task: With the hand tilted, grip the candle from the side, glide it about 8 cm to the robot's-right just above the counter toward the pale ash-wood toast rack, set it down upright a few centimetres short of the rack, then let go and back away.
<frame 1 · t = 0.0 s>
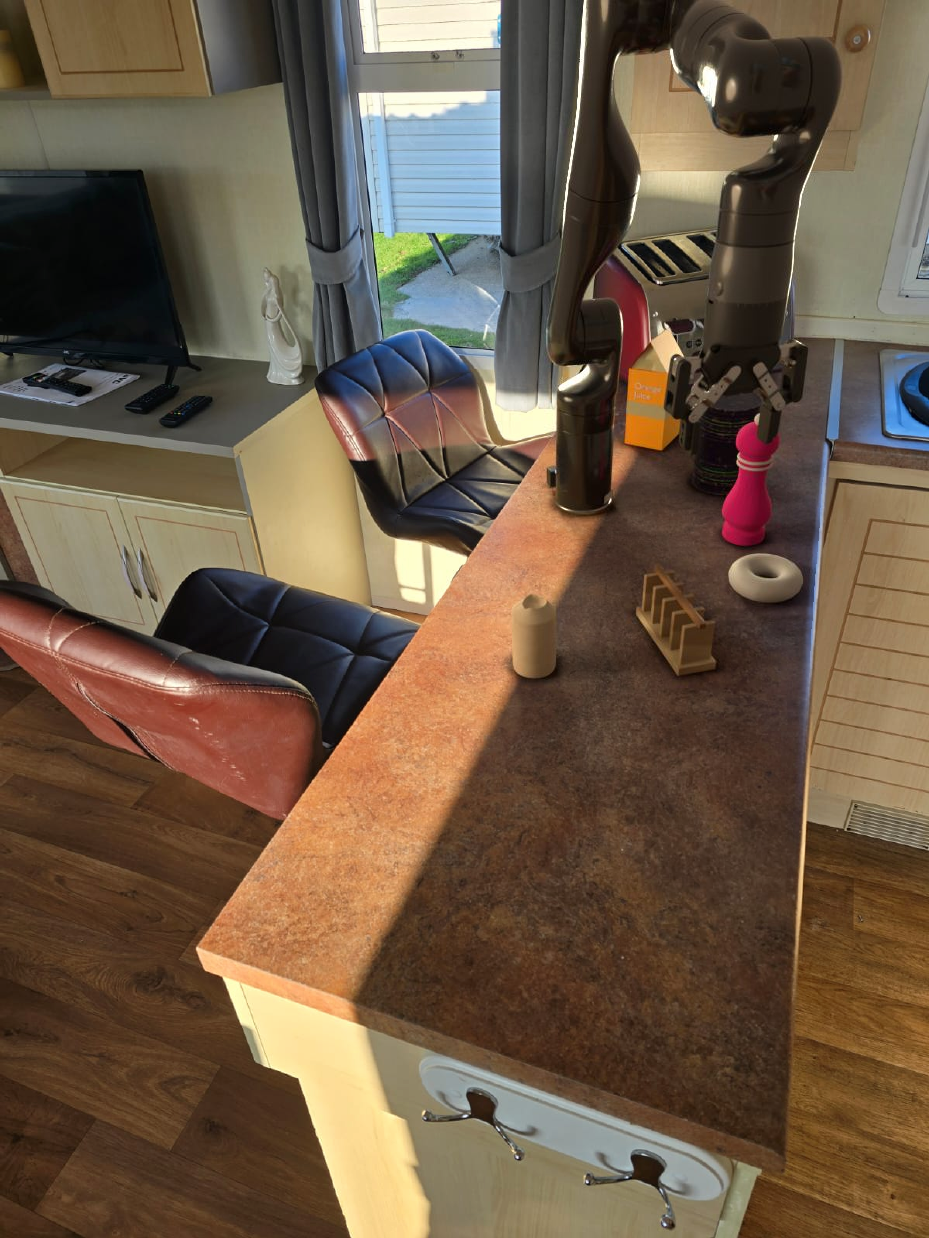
hand: (726, 446, 91), 29 cm above the breakfast bar, tool pointing down, fingers open, 8 cm apart
orange juice: (651, 439, 164), on the breakfast bar
storage jar: (720, 483, 148), on the breakfast bar
toast rack: (673, 640, 112), on the breakfast bar
candle: (534, 666, 109), on the breakfast bar
pepper mill: (742, 537, 133), on the breakfast bar
donut: (763, 588, 121), on the breakfast bar
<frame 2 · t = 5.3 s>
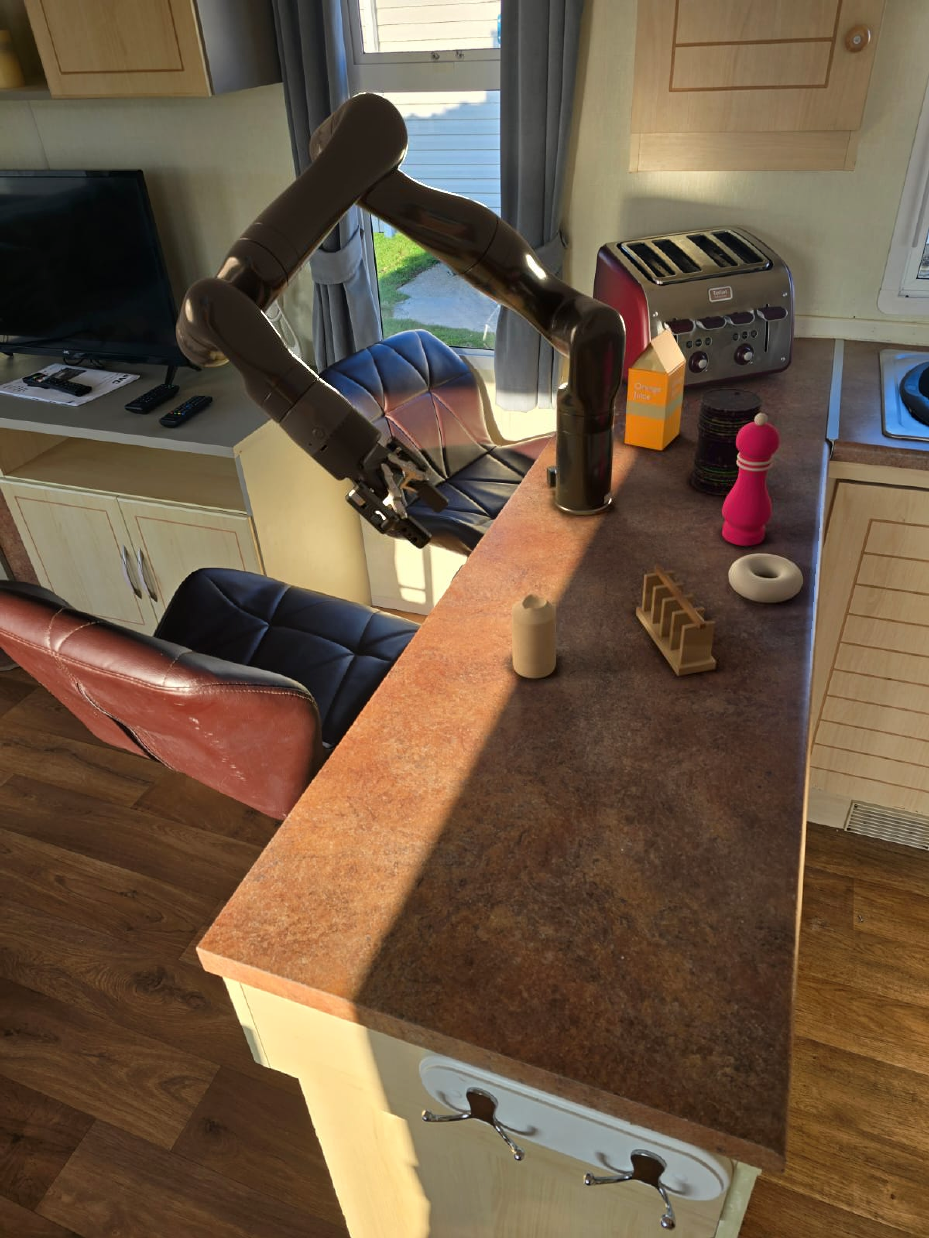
hand: (435, 525, 100), 20 cm above the breakfast bar, tool tilted 45°, fingers open, 8 cm apart
nothing on the breakfast bar moved.
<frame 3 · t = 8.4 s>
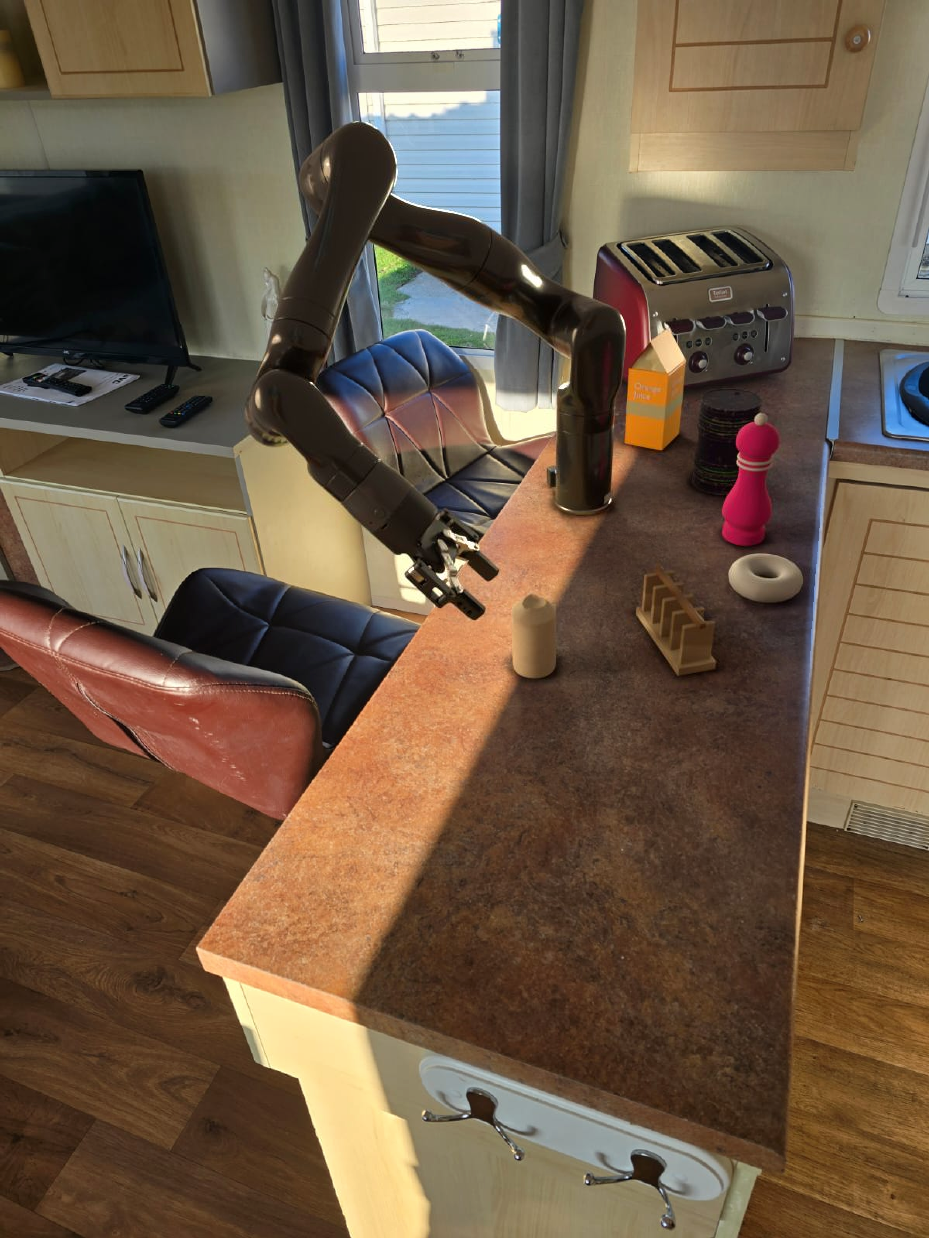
hand: (487, 595, 104), 10 cm above the breakfast bar, tool tilted 45°, fingers open, 8 cm apart
nothing on the breakfast bar moved.
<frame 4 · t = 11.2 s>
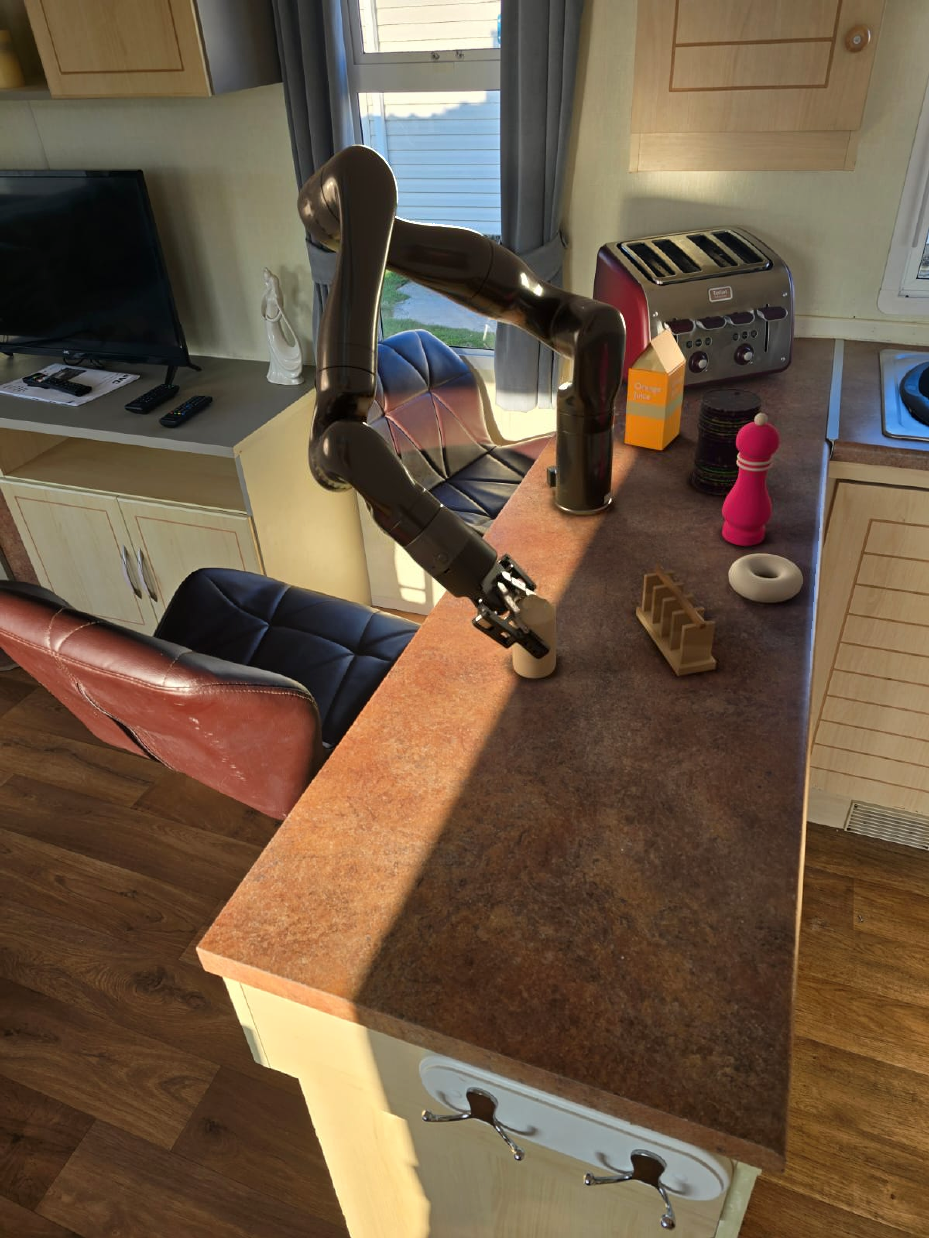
hand: (548, 639, 106), 4 cm above the breakfast bar, tool tilted 45°, fingers closed on candle, 5 cm apart
candle: (534, 666, 109), on the breakfast bar, touching gripper
everything else where it was.
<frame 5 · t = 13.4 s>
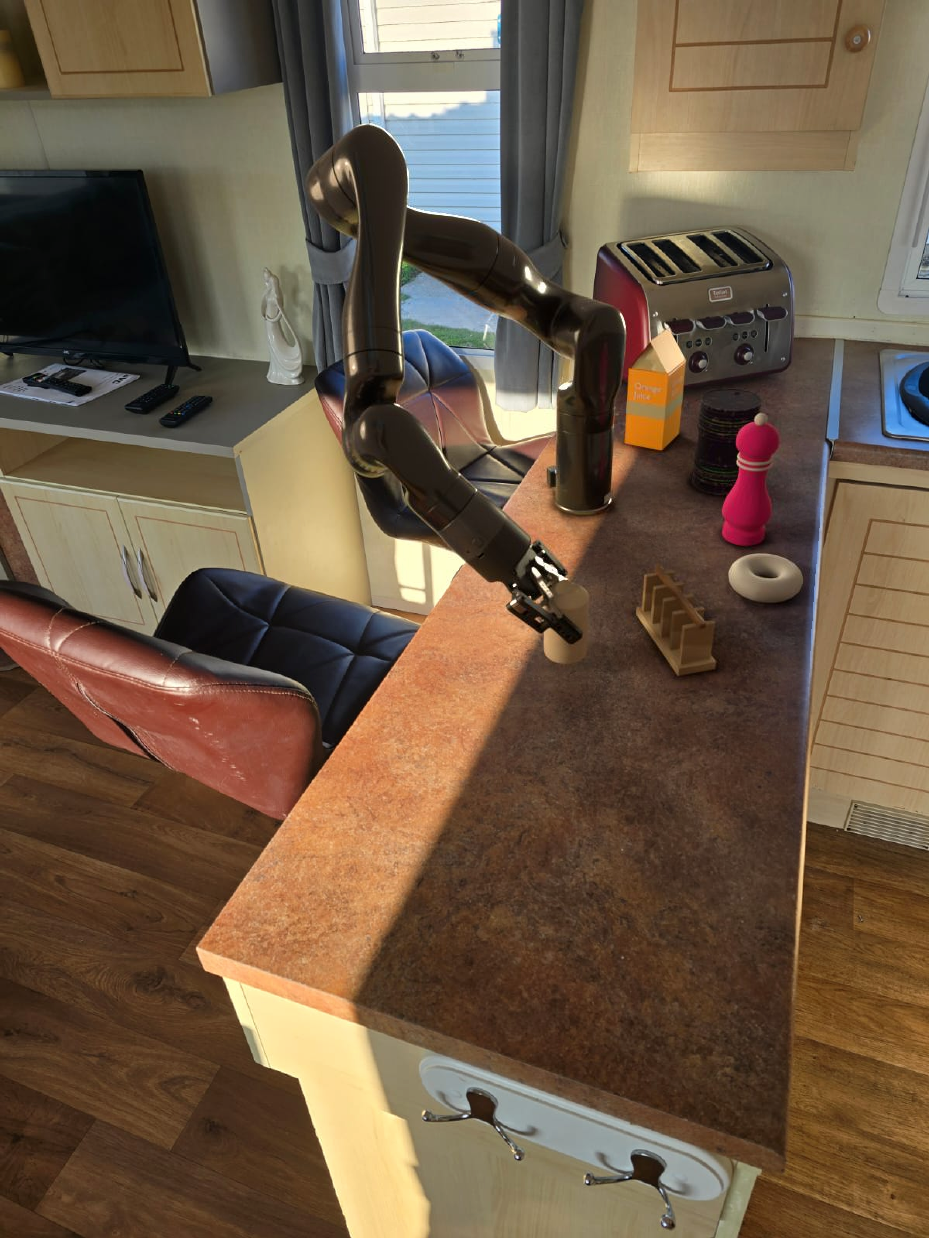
hand: (580, 624, 106), 6 cm above the breakfast bar, tool tilted 45°, fingers closed on candle, 5 cm apart
candle: (565, 652, 109), point 1 cm above the breakfast bar, touching gripper
everything else where it was.
when the fingers open (4 cm above the breakfast bar, at t = 15.5 s): candle stays where it is, on the breakfast bar.
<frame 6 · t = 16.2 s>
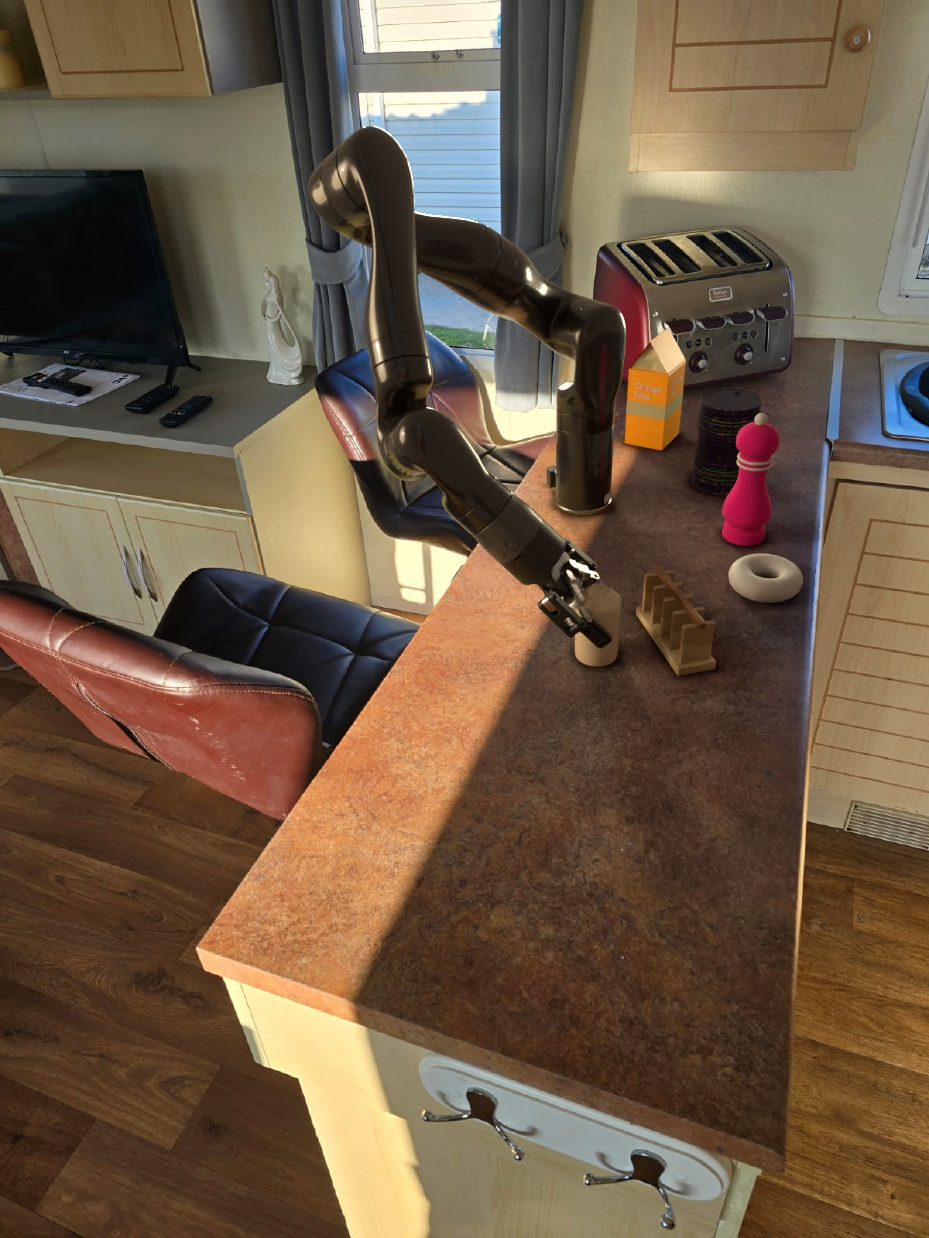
hand: (609, 623, 107), 5 cm above the breakfast bar, tool tilted 45°, fingers open, 8 cm apart
candle: (596, 655, 110), on the breakfast bar
everything else where it was.
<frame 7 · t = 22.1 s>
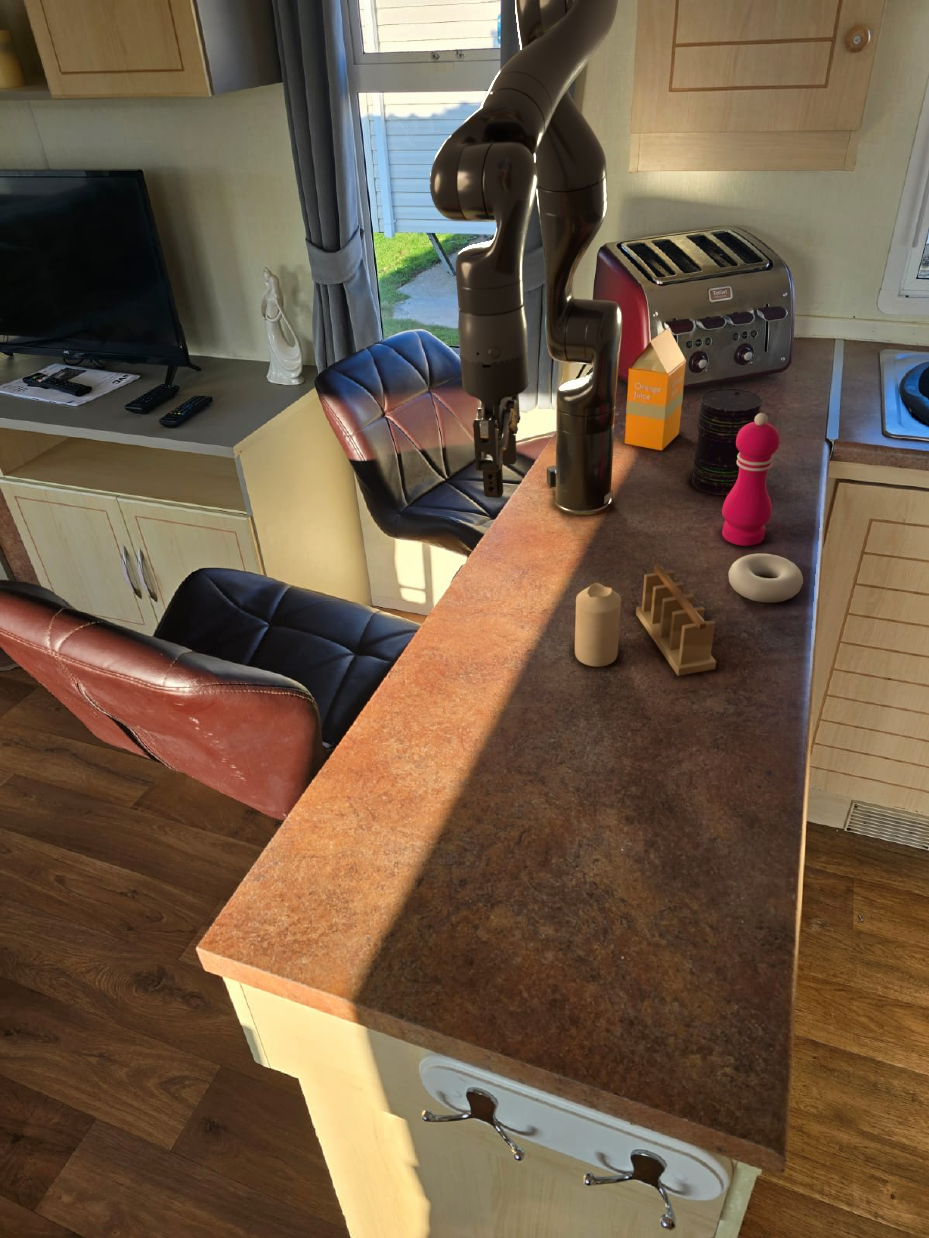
hand: (501, 479, 104), 22 cm above the breakfast bar, tool pointing down, fingers open, 8 cm apart
nothing on the breakfast bar moved.
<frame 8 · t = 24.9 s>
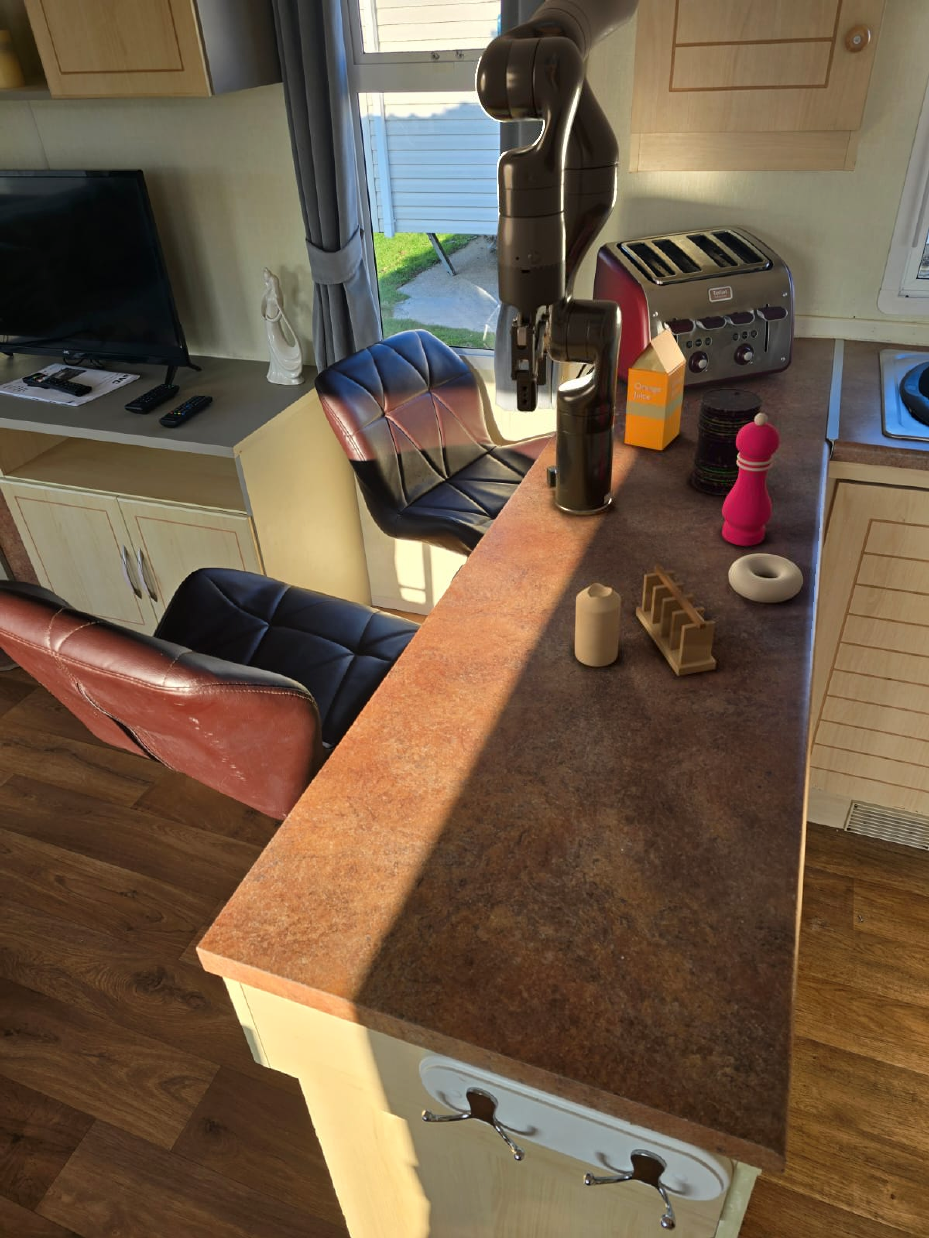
hand: (532, 397, 104), 30 cm above the breakfast bar, tool pointing down, fingers open, 8 cm apart
nothing on the breakfast bar moved.
at the end: candle inside the target area (0.2 cm from its centre), on the breakfast bar; candle tilted 0°; the gripper is holding nothing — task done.
